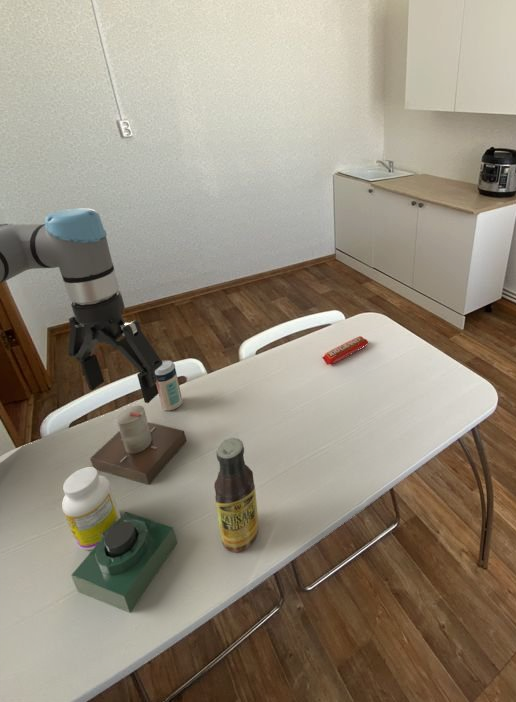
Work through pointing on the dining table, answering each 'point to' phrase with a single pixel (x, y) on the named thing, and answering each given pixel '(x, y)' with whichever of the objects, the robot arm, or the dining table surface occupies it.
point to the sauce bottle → (235, 497)
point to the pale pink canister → (168, 386)
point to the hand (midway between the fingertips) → (123, 391)
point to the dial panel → (140, 455)
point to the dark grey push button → (120, 539)
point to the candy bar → (344, 350)
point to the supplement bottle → (89, 507)
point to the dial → (134, 429)
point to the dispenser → (126, 564)
